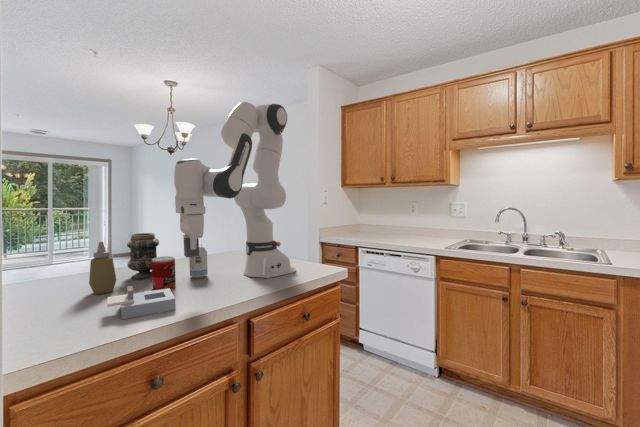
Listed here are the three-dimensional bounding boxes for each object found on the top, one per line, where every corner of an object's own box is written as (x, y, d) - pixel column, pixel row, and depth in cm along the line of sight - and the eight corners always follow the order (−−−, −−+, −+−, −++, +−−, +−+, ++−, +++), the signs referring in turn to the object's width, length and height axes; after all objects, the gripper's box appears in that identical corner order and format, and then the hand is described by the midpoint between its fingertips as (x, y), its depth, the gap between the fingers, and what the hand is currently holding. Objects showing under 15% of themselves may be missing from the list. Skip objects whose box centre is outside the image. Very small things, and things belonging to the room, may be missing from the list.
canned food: (167, 291, 116) (165, 261, 115) (147, 290, 118) (146, 260, 117) (180, 285, 123) (179, 256, 123) (161, 283, 125) (160, 255, 124)
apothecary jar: (162, 271, 143) (160, 231, 142) (159, 278, 132) (157, 235, 130) (131, 274, 139) (129, 232, 138) (125, 281, 128) (122, 236, 126)
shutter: (133, 295, 101) (132, 285, 100) (134, 302, 95) (133, 291, 94) (107, 299, 97) (107, 288, 97) (107, 306, 91) (106, 295, 91)
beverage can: (210, 275, 137) (210, 247, 137) (202, 279, 131) (201, 250, 130) (195, 274, 139) (194, 246, 138) (186, 278, 132) (185, 249, 131)
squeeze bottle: (84, 296, 111) (81, 244, 109) (97, 288, 119) (94, 240, 117) (110, 295, 112) (107, 243, 111) (120, 287, 120) (118, 239, 119)
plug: (196, 253, 112) (196, 234, 112) (199, 256, 109) (198, 235, 108) (183, 255, 110) (183, 235, 110) (186, 257, 107) (185, 236, 106)
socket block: (169, 298, 109) (169, 288, 108) (175, 309, 99) (175, 298, 98) (121, 306, 101) (120, 295, 101) (121, 319, 91) (121, 307, 91)
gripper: (174, 206, 115) (176, 244, 116) (185, 209, 98) (187, 254, 99) (193, 205, 119) (194, 242, 120) (206, 208, 101) (208, 252, 103)
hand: (191, 248), depth 109 cm, fingers closed on plug, 4 cm apart
